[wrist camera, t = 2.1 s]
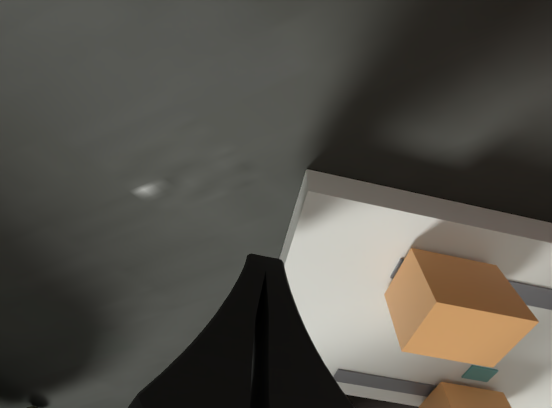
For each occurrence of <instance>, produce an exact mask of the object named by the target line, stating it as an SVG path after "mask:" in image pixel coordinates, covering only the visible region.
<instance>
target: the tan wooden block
mask: <svg viewBox="0 0 552 408" xmlns="http://www.w3.org/2000/svg"><path fill="white" fill-rule="evenodd" d="M419 408H511V406H510V404H509V402H508V400H507V398H506V396H505V394H504V393H503V392H498V391H492V390H487V389H481V388H475V387H469V386H464V385H458V384H452V383H446V382H440V383H439V384H438V386H437V387H436V388H435V389H434V390H433V391H432V392H431V393H430V395H429V396H428V397H427V398H426V399H425V400H424V401H423V402H422V403H421V405H420V406H419Z"/></svg>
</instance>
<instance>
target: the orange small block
mask: <svg viewBox="0 0 552 408" xmlns="http://www.w3.org/2000/svg"><path fill="white" fill-rule="evenodd" d="M384 296H385V299H386V302H387V306H388V309H389V312H390V316H391V319H392V322H393V325H394V329H395V332H396V335H397V339H398V342H399V345H400V348H401V351H402V352H408V353H413V354H419V355H424V356H430V357H436V358H441V359H447V360H452V361H458V362H463V363H469V364H475V365H480V366H486V367H491V368H493V367H494V366H495V365H496V364H497V363H498V362H499V361H500V360H501V359H502V358H503V357H504V356H505V355H506V354H507V353H508V352H509V351H510V350H511V349H512V348H513V347H514V346H515V345H516V344H517V343H518V342H519V341H520V340H521V339H522V338H523V337H525V336H526V335H527V334H528V333H529V332H530V331H531V330H532V329H533V328H534V327H535V326H536V325H537V324H538V323H539V321H538V320H537V318H536V317H535V316H534V314H533V313H532V312H531V310H530V309H529V308H528V306H527V305H526V304H525V302H524V301H523V300H522V298H521V297H520V296H519V294H518V293H517V292H516V291H515V289H514V288H513V287H512V285H511V284H510V283H509V281H508V280H507V279H506V277H505V276H504V275H503V273H502V272H501V271H500V269H499V268H498V267H497V265H493V264H488V263H483V262H478V261H473V260H469V259H464V258H459V257H454V256H449V255H444V254H439V253H435V252H430V251H425V250H420V249H415V248H411V249H410V250H409V252H408V254H407V256H406V257H405V259H404V261H403V263H402V264H401V266H400V268H399V270H398V271H397V273H396V275H395V276H394V278H393V280H392V282H391V283H390V285H389V287H388V289H387V290H386V292H385V294H384Z"/></svg>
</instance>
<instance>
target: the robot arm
mask: <svg viewBox="0 0 552 408" xmlns="http://www.w3.org/2000/svg"><path fill="white" fill-rule="evenodd" d="M128 408H355V407H354V406H353V405H352V403H351V402H350V401H349V399H348V398H347V396H346V395H345V394H344V392H343V391H342V390H341V388H340V387H339V385H338V383H337V382H336V380H335V379H334V377H333V376H332V374H331V373H330V371H329V370H328V368H327V367H326V365H325V363H324V362H323V360H322V358H321V356H320V355H319V353H318V351H317V349H316V347H315V346H314V344H313V342H312V340H311V338H310V336H309V334H308V332H307V330H306V328H305V325H304V323H303V321H302V318H301V316H300V314H299V311H298V309H297V306H296V303H295V301H294V298H293V295H292V292H291V289H290V286H289V283H288V280H287V276H286V272H285V267H284V262H283V261H282V260H281V259H276V258H271V257H265V256H260V255H255V254H249V255H247V259H246V262H245V265H244V268H243V270H242V272H241V274H240V276H239V278H238V280H237V282H236V284H235V285H234V287H233V289H232V290H231V292H230V294H229V295H228V297H227V298H226V300H225V301H224V303H223V304H222V306H221V307H220V309H219V310H218V311H217V313H216V314H215V315H214V317H213V318H212V319H211V321H210V322H209V323H208V324H207V326H206V327H205V328H204V329H203V331H202V332H201V333H200V334H199V335H198V336H197V337H196V339H195V340H194V341H193V342H192V343H191V344H190V345H189V346H188V347H187V348H186V350H185V351H184V352H183V353H182V354H181V355H180V356H179V357H178V358H177V359H176V360H175V361H173V362H172V363H171V364H170V365H169V366H168V367H167V368H166V369H165V370H164V371H163V372H162V373H161V374H160V375H159V376H158V377H156V378H155V379H154V380H153V381H152V382H151V383H150V384H148V385H147V386H146V387H145V388H144V389H143V390H141V391H140V392H139V393H138V394H137V396H136V397H135V398H134V400H133V401H132V403H131V404H130V405H129V407H128Z"/></svg>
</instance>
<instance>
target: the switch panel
mask: <svg viewBox="0 0 552 408" xmlns="http://www.w3.org/2000/svg"><path fill="white" fill-rule="evenodd" d="M411 248H415V249H420V250H425V251H430V252H435V253H439V254H444V255H449V256H454V257H459V258H464V259H469V260H473V261H478V262H483V263H488V264H493V265H497V267H498V268H499V269H500V271H501V272H502V273H503V275H504V276H505V277H506V279H507V280H508V281H509V283H510V284H511V285H512V287H513V288H514V289H515V291H516V292H517V293H518V294H519V296H520V297H521V298H522V300H523V301H524V302H525V304H526V305H527V306H528V308H529V309H530V310H531V312H532V313H533V314H534V316H535V317H536V318H537V320H538V321H539V323H538V324H537V325H536V326H535V327H534V328H533V329H532V330H531V331H530V332H529V333H528V334H527V335H526V336H525V337H523V338H522V339H521V340H520V341H519V342H518V343H517V344H516V345H515V346H514V347H513V348H512V349H511V350H510V351H509V352H508V353H507V354H506V355H505V356H504V357H503V358H502V359H501V360H500V361H499V362H498V363H497V364H496V365H495V366H494V367H493V368H491V367H486V366H480V365H475V364H469V363H463V362H458V361H452V360H447V359H441V358H436V357H430V356H424V355H419V354H413V353H408V352H402V351H401V348H400V345H399V342H398V339H397V335H396V332H395V329H394V325H393V322H392V319H391V316H390V312H389V309H388V306H387V302H386V299H385V296H384V294H385V292H386V290H387V289H388V287H389V285H390V283H391V282H392V280H393V278H394V276H395V275H396V273H397V271H398V270H399V268H400V266H401V264H402V263H403V261H404V259H405V257H406V256H407V254H408V252H409V250H410V249H411ZM279 259H281V260H282V261H283V262H284V267H285V272H286V276H287V280H288V283H289V286H290V289H291V292H292V295H293V298H294V301H295V303H296V306H297V309H298V311H299V314H300V316H301V318H302V321H303V323H304V325H305V328H306V330H307V332H308V334H309V336H310V338H311V340H312V342H313V344H314V346H315V347H316V349H317V351H318V353H319V355H320V356H321V358H322V360H323V362H324V363H325V365H326V367H327V368H328V370H329V371H330V373H331V374H332V376H333V377H334V379H335V380H336V382H337V383H338V385H339V387H340V388H341V390H342V391H343V392H344V394H346V395H352V396H358V397H364V398H370V399H376V400H382V401H388V402H394V403H400V404H406V405H412V406H418V407H419V406H420V405H421V403H422V402H423V401H424V400H425V399H426V398H427V397H428V396H429V395H430V393H431V392H432V391H433V390H434V389H435V388H436V387H437V386H438V384H439V383H440V382H446V383H452V384H458V385H464V386H469V387H475V388H481V389H487V390H492V391H498V392H503V393H504V394H505V396H506V398H507V400H508V402H509V404H510V406H511V408H552V223H550V222H545V221H541V220H536V219H532V218H527V217H523V216H518V215H514V214H509V213H504V212H500V211H495V210H491V209H486V208H482V207H477V206H473V205H468V204H464V203H459V202H454V201H450V200H445V199H441V198H436V197H432V196H427V195H423V194H418V193H413V192H409V191H404V190H400V189H395V188H391V187H386V186H382V185H377V184H373V183H368V182H363V181H359V180H354V179H350V178H345V177H341V176H336V175H332V174H327V173H323V172H318V171H313V170H309V169H306V172H305V175H304V179H303V182H302V185H301V188H300V192H299V195H298V198H297V202H296V205H295V208H294V212H293V215H292V218H291V222H290V225H289V228H288V232H287V235H286V238H285V242H284V245H283V248H282V252H281V255H280V258H279Z"/></svg>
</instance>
